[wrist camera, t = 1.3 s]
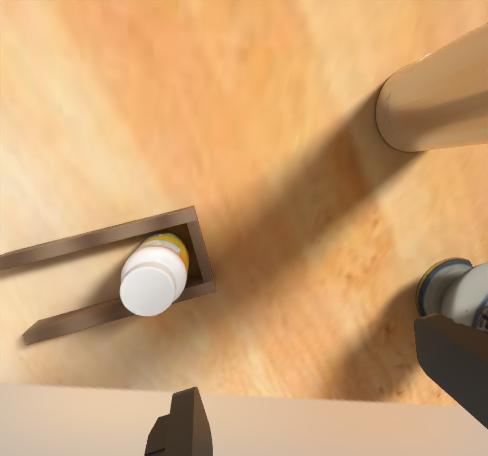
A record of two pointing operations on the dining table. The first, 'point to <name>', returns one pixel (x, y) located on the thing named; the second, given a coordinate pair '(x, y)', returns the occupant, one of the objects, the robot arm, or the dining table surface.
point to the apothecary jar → (456, 292)
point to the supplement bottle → (154, 274)
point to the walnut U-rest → (102, 236)
